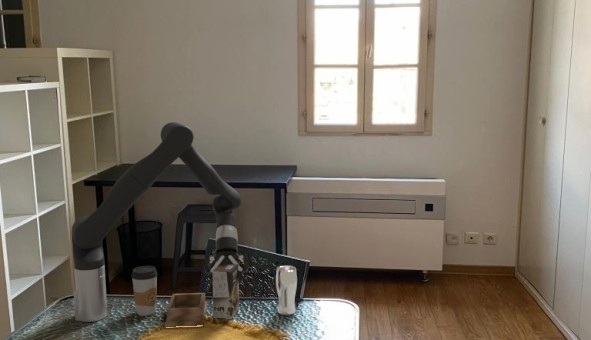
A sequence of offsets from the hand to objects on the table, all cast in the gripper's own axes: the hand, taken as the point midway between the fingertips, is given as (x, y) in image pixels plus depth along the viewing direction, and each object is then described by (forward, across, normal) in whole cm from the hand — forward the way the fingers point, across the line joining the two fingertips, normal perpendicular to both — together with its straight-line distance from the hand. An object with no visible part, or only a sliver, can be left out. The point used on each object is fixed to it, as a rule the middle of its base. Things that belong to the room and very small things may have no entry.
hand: (226, 284), depth 182 cm
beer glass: (+8, +20, +7) cm, 22 cm away
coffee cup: (+4, -27, +10) cm, 29 cm away
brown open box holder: (+7, -13, +7) cm, 17 cm away
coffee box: (+8, 0, +7) cm, 11 cm away
